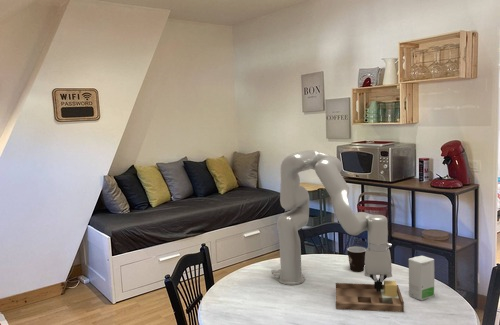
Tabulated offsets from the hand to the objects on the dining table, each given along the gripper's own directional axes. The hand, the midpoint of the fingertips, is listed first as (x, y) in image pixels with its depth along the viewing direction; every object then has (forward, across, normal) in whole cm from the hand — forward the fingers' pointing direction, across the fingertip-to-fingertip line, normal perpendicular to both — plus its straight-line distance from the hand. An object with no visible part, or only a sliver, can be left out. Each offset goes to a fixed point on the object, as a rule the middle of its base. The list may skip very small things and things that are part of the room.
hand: (378, 290), depth 170 cm
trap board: (+4, +4, +3) cm, 7 cm away
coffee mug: (+4, +7, -29) cm, 30 cm away
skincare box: (+4, -17, -4) cm, 18 cm away
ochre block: (+1, -5, 0) cm, 5 cm away
